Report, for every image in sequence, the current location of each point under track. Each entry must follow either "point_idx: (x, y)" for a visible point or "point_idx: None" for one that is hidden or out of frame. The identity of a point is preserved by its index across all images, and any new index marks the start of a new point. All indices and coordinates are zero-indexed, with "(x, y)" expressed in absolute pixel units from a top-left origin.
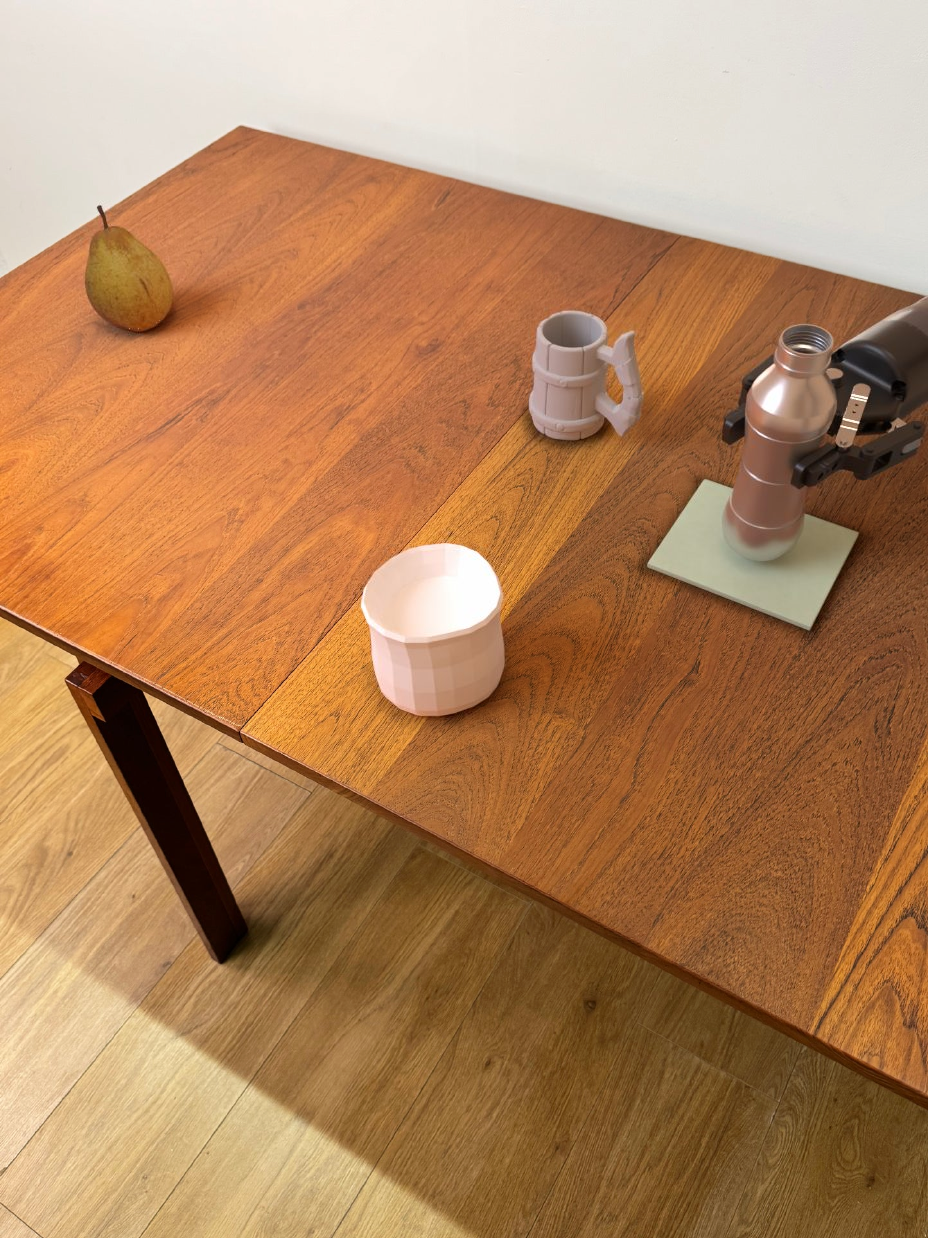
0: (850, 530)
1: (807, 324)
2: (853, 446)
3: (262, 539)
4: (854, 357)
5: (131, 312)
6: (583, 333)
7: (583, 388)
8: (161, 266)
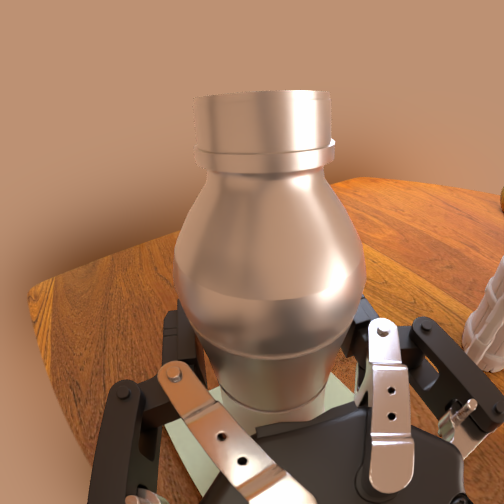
0: None
1: (322, 92)
2: (164, 399)
3: (383, 213)
4: None
5: (502, 198)
6: None
7: (488, 308)
8: None
